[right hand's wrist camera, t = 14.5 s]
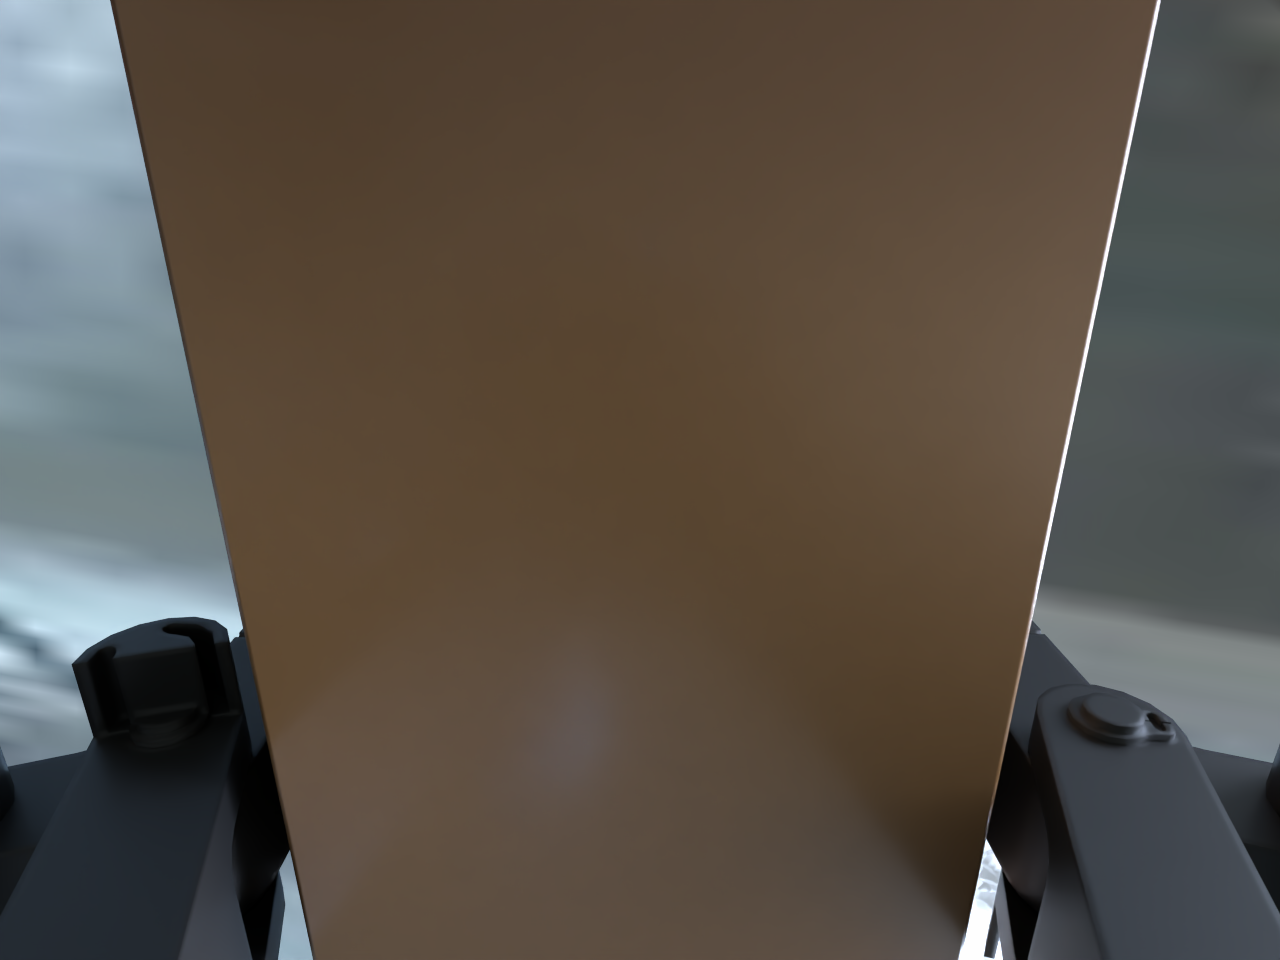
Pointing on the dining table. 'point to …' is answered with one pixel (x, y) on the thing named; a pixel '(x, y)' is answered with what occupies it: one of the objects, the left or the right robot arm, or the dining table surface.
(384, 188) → the bar
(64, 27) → the dining table surface
